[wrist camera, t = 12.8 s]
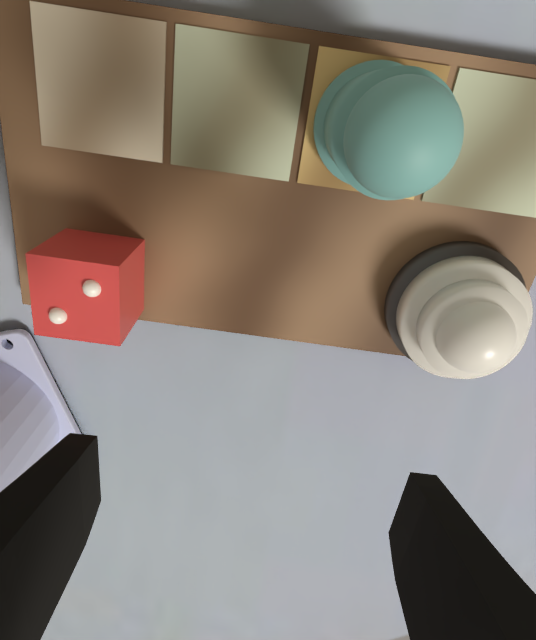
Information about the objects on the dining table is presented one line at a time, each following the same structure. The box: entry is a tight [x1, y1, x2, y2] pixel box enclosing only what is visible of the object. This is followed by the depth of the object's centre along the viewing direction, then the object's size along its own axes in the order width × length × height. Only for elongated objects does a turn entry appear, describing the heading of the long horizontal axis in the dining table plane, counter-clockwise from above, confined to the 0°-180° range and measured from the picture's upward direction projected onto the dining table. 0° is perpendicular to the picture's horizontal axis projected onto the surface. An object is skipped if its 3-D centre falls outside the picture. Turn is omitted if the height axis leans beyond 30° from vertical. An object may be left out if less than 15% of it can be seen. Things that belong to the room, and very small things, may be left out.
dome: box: [396, 256, 533, 379], centre depth 16 cm, size 5×5×3 cm
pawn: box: [313, 60, 464, 200], centre depth 12 cm, size 4×4×6 cm
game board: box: [0, 0, 536, 361], centre depth 17 cm, size 20×11×2 cm, turn 82°
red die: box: [25, 228, 145, 346], centre depth 16 cm, size 3×3×3 cm
